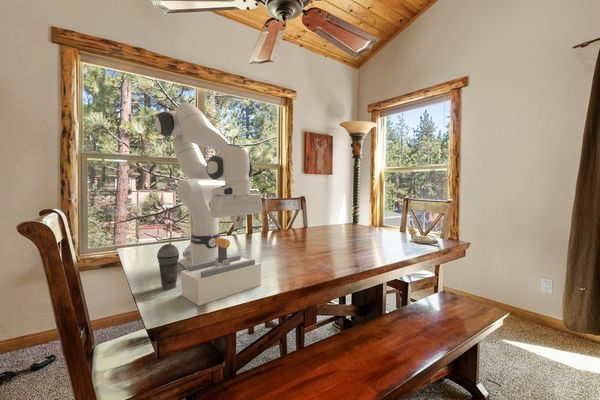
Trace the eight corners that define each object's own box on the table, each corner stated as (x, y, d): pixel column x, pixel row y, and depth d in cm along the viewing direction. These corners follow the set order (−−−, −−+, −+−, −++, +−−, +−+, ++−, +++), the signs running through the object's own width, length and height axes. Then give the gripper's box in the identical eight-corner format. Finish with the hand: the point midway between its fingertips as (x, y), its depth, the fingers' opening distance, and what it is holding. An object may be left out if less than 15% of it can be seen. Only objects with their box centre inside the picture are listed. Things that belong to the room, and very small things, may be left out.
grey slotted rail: (187, 270, 95) (187, 265, 95) (238, 258, 110) (238, 254, 110) (203, 277, 88) (203, 272, 88) (255, 264, 103) (255, 260, 102)
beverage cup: (162, 283, 105) (161, 230, 104) (183, 283, 106) (181, 230, 104) (154, 291, 98) (152, 233, 97) (176, 290, 99) (174, 233, 97)
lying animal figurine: (412, 239, 188) (412, 224, 188) (442, 245, 170) (442, 229, 169) (403, 240, 184) (403, 225, 183) (433, 247, 166) (433, 230, 165)
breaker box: (181, 294, 95) (180, 262, 94) (241, 277, 112) (241, 250, 112) (198, 305, 87) (198, 270, 86) (260, 285, 104) (260, 255, 103)
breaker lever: (214, 262, 100) (214, 237, 99) (222, 260, 102) (222, 236, 101) (222, 264, 96) (222, 240, 96) (230, 263, 98) (229, 238, 98)
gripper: (255, 188, 112) (256, 224, 112) (207, 190, 97) (208, 230, 98) (265, 188, 107) (266, 225, 108) (216, 190, 93) (218, 232, 93)
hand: (238, 227), depth 103 cm, fingers closed
